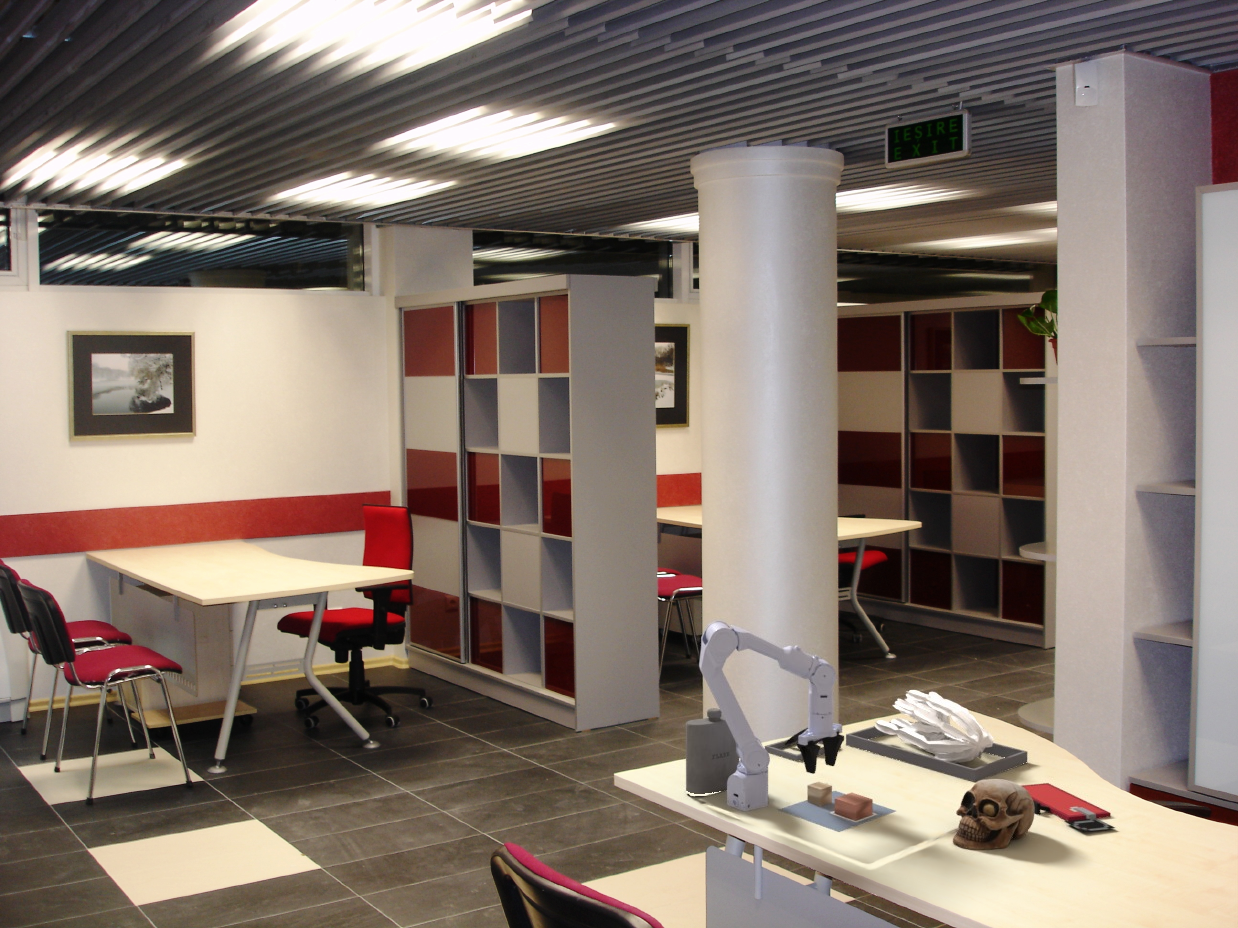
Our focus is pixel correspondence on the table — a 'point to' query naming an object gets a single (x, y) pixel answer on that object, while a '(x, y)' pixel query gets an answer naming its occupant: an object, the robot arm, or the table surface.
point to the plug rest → (776, 751)
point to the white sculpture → (938, 727)
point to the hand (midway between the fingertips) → (820, 768)
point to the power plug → (795, 738)
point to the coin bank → (993, 815)
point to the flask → (709, 754)
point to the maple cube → (819, 794)
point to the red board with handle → (1067, 807)
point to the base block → (853, 806)
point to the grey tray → (1010, 761)
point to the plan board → (831, 814)
